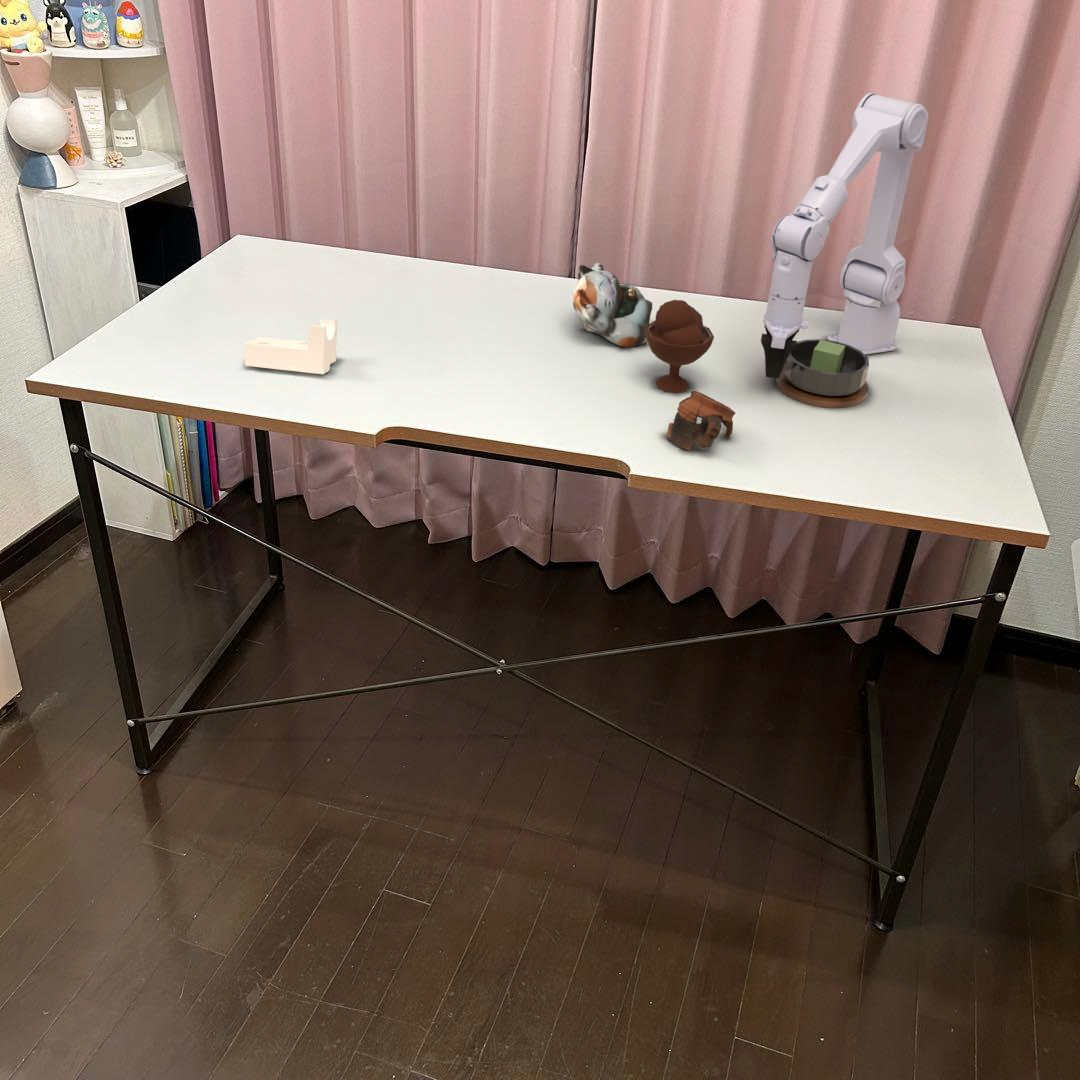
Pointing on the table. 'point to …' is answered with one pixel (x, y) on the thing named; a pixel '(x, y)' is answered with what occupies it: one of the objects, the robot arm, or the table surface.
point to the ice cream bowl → (677, 341)
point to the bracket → (296, 350)
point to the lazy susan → (821, 399)
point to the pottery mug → (710, 426)
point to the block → (827, 357)
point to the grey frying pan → (822, 381)
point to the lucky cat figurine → (611, 307)
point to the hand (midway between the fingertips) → (773, 371)
